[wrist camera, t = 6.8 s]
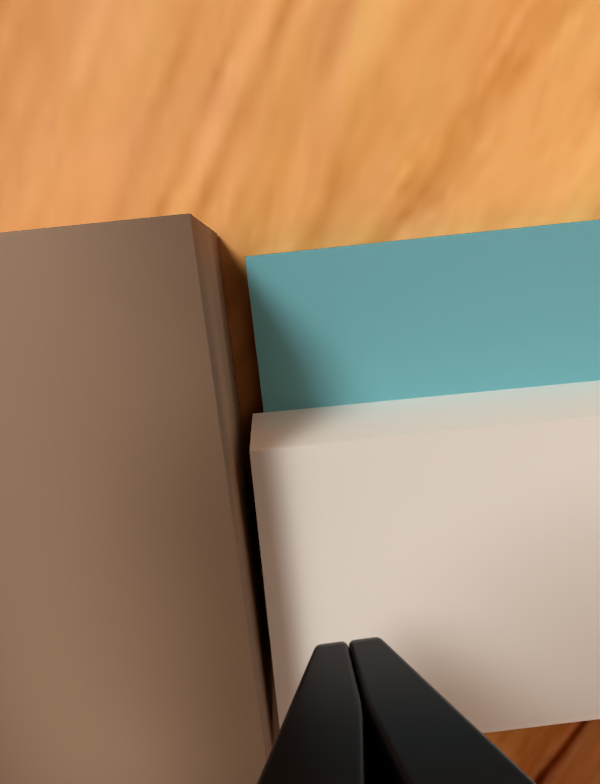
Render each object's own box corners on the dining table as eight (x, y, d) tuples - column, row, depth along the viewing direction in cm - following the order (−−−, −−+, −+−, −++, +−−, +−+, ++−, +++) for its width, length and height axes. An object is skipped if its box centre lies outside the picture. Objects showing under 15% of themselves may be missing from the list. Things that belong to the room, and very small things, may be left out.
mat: (302, 725, 13) (302, 735, 13) (245, 257, 11) (244, 256, 11) (703, 670, 14) (713, 678, 14) (734, 205, 11) (746, 204, 11)
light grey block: (279, 667, 13) (282, 757, 10) (252, 413, 11) (249, 450, 9) (662, 623, 13) (748, 700, 11) (679, 372, 12) (781, 397, 9)
